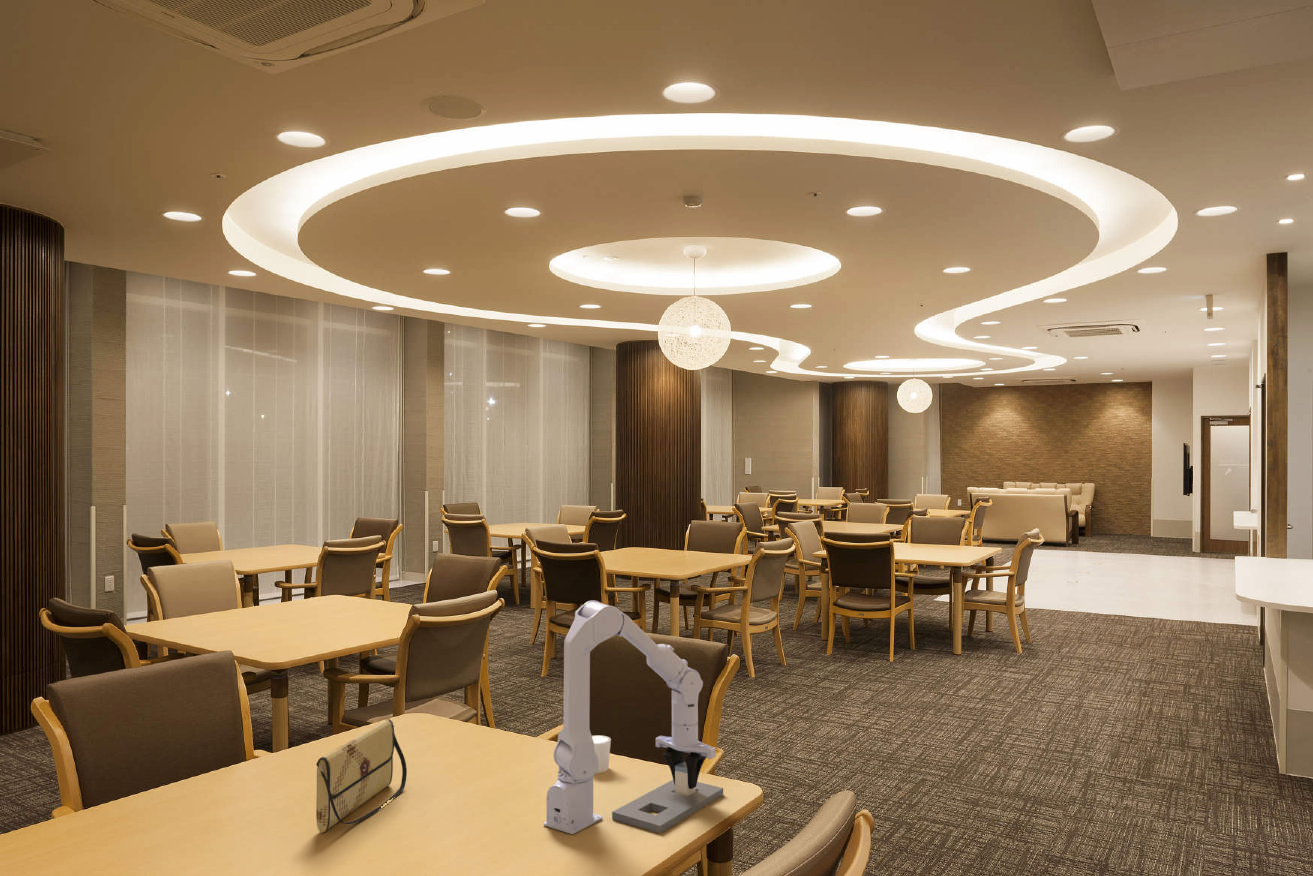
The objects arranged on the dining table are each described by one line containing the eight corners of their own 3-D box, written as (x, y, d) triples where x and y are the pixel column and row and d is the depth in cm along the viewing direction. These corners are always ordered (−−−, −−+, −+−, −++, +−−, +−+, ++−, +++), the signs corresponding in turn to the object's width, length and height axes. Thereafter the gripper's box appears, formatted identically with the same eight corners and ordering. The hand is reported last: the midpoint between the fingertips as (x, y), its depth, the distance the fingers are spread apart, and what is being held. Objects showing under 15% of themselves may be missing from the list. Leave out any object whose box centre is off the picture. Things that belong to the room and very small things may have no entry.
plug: (687, 802, 179) (687, 768, 180) (675, 798, 181) (674, 766, 182) (695, 797, 182) (695, 764, 182) (683, 794, 184) (683, 761, 184)
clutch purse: (343, 839, 162) (343, 761, 163) (310, 837, 163) (311, 759, 164) (414, 784, 191) (415, 717, 192) (386, 782, 192) (386, 716, 193)
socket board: (660, 833, 163) (660, 826, 164) (612, 819, 170) (612, 811, 170) (723, 795, 183) (723, 788, 183) (678, 783, 190) (677, 777, 190)
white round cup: (613, 764, 203) (612, 735, 203) (608, 774, 196) (608, 744, 197) (585, 763, 204) (585, 734, 204) (579, 773, 197) (579, 743, 197)
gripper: (722, 723, 181) (723, 787, 181) (668, 712, 190) (668, 773, 189) (705, 731, 176) (706, 797, 175) (649, 720, 184) (650, 782, 183)
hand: (685, 785), depth 182 cm, fingers closed on plug, 3 cm apart
